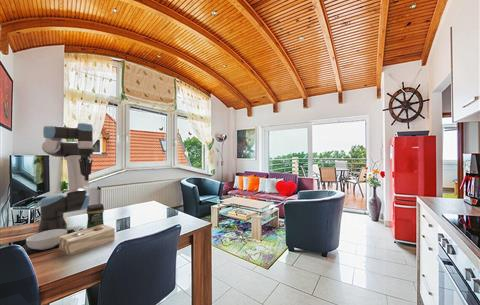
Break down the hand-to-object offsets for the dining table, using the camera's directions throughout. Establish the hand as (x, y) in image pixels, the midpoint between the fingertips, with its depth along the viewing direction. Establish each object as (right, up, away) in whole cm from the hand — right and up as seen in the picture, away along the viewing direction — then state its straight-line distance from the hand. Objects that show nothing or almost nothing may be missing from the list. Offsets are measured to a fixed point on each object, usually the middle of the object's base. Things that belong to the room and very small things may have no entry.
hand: (85, 185), depth 128 cm
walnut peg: (+11, -32, -5) cm, 34 cm away
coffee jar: (0, -33, +8) cm, 34 cm away
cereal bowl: (-13, -33, -12) cm, 37 cm away
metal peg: (+6, -32, -14) cm, 35 cm away
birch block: (+8, -32, -9) cm, 35 cm away
